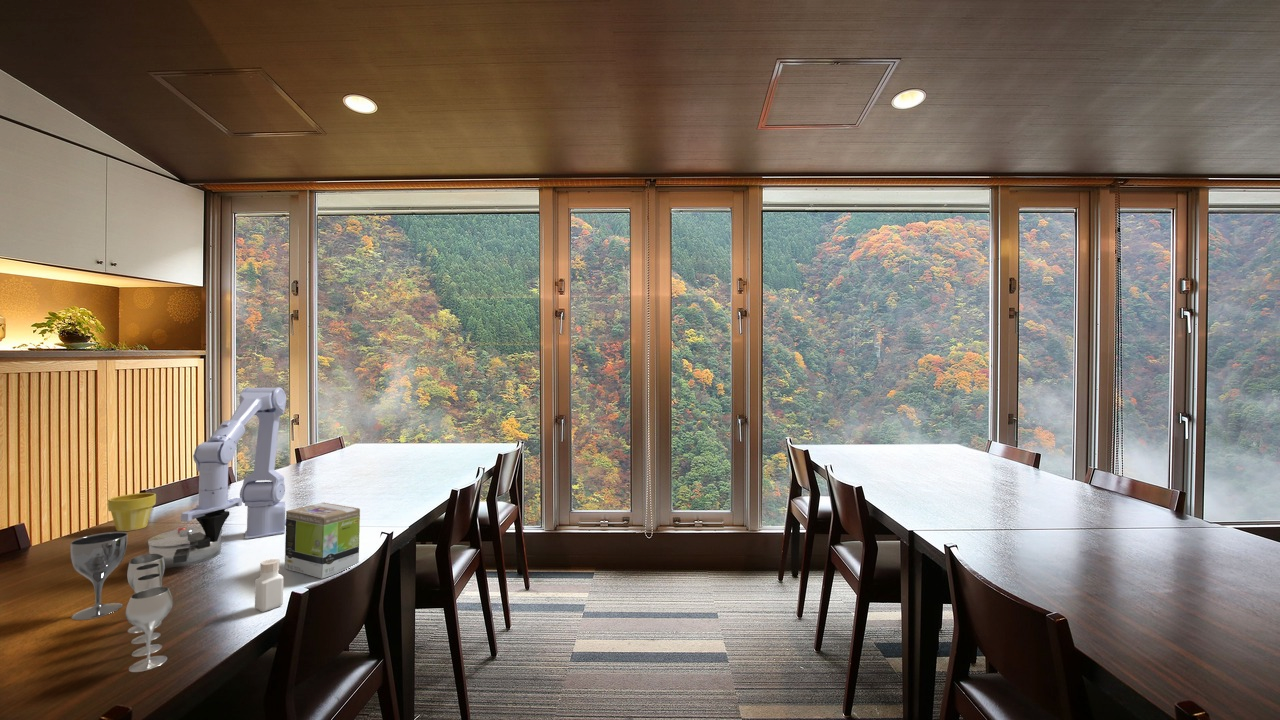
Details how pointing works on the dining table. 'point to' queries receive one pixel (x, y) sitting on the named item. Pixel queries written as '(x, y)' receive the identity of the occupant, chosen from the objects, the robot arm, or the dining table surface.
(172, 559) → the cooker pot
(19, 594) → the dining table surface
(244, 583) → the dining table surface
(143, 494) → the plant pot
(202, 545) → the cooker lid
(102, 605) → the wine glass
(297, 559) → the tea box
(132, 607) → the goblet set
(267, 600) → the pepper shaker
